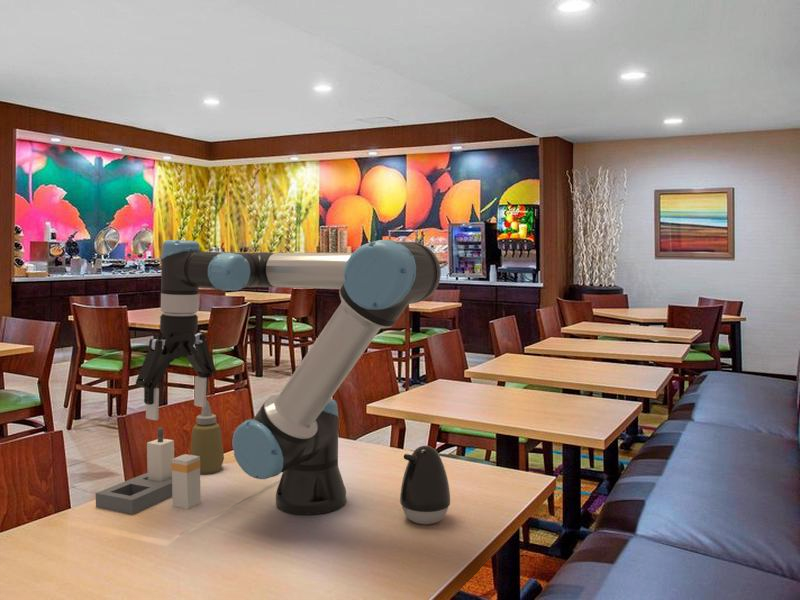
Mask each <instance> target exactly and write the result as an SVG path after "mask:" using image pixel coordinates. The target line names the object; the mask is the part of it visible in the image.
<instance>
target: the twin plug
mask: <svg viewBox="0 0 800 600" xmlns="http://www.w3.org/2000/svg"><path fill="white" fill-rule="evenodd" d="M156 434H157V439H154V440H151V441H147V443H146V455H147V456H146V460H147V467H146V468H147V472H148V480H151V481H157V482H164V481H166V480H169V479H171V478H172V469H171V463H172V459H173V458H175V441H174V439H167V438H164V428H163V427H158V428H157V433H156Z"/></svg>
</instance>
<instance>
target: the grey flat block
mask: <svg viewBox="0 0 800 600" xmlns="http://www.w3.org/2000/svg"><path fill="white" fill-rule="evenodd" d="M170 498H172V478H171V479H169V480H166V481H164V482H157V481H151V480H148V471H147V472H146V473H142V474H140V475H138V476H135V477H133V478H129V479H128V480H125V481H123V482H121V483H118V484H115V485H113V486H110V487H108V488H105V489H103V490H100V491H97V492H95V508H97V509H102V510H107V511H111V512H116V513H121V514H126V515H130V516H131V515H132V516H133V515H136V514H137V513H140V512H142V511H145V510H146V509H148V508H149V509H150V507H152V506H154V505H158V504H159V503H162V502H164V501H166V500H168V499H170Z"/></svg>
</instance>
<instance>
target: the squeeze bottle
mask: <svg viewBox="0 0 800 600" xmlns="http://www.w3.org/2000/svg"><path fill="white" fill-rule="evenodd" d="M190 441H191V442H190V453H189V455H195V456H200V475H211V474H216V473H218V472H220V470H221V469H222V466H223V463H224V459H225V456H224V454H225V453H224V446H223V439H222V431H221V425H220V424H219V423H217V415H216V414H213V413H212V410H211V405H210V401H209V400H206V407H201V412H200V414H198V415H197V416H196V424H194V426H192V431H191V440H190Z"/></svg>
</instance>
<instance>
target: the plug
mask: <svg viewBox="0 0 800 600" xmlns="http://www.w3.org/2000/svg"><path fill="white" fill-rule="evenodd" d="M171 469H172V497H171V498H172V507H175V508H181V509H185V510H189V509H190V508H193V507H195V506H196V505H199V504H201V474H200V456H195V455H190V454H187V453H183V454H181V455H179V456H176V457H174V458H173V459H172V463H171Z"/></svg>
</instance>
